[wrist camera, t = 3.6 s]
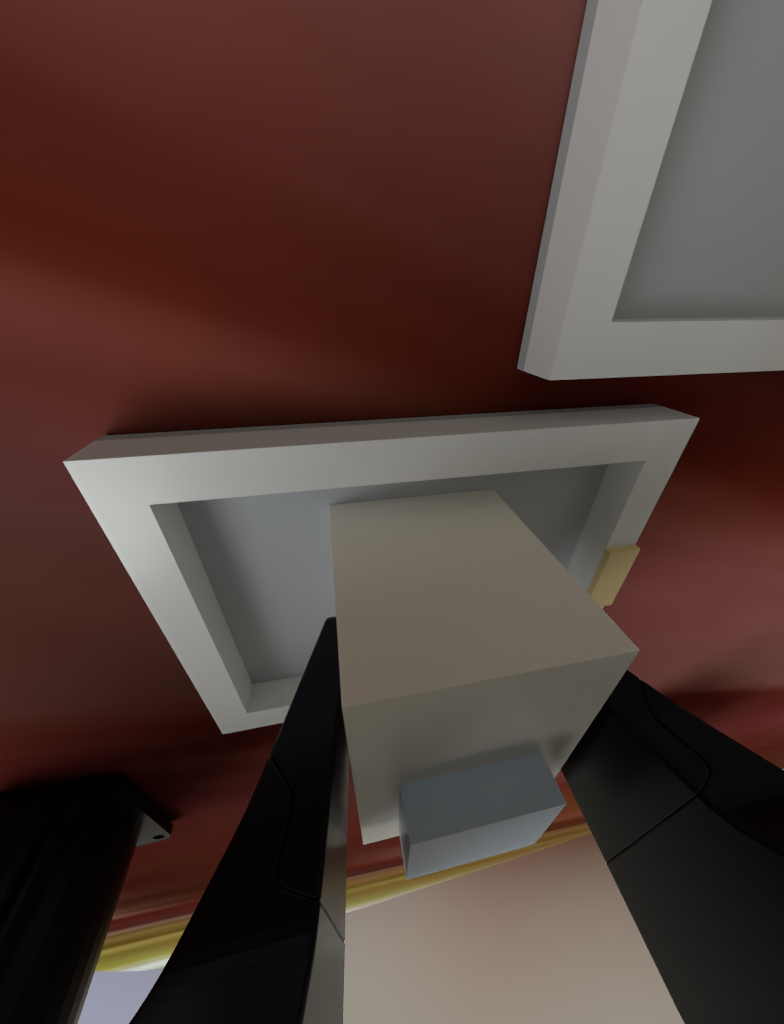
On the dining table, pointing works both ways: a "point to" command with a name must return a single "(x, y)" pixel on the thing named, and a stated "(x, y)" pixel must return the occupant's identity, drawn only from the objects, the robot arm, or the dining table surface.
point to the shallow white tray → (666, 197)
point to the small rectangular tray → (347, 479)
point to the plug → (462, 673)
